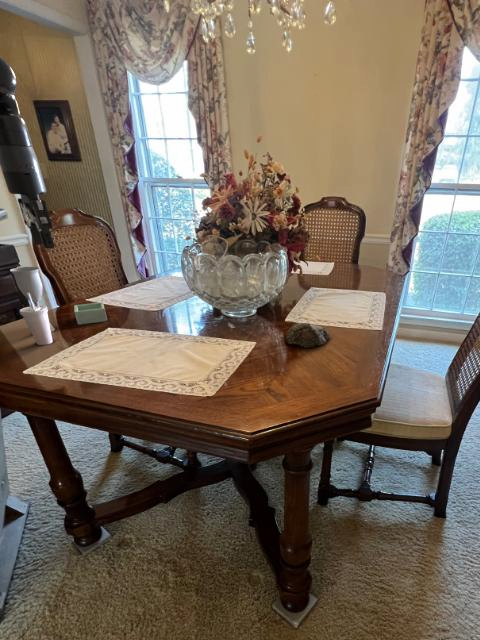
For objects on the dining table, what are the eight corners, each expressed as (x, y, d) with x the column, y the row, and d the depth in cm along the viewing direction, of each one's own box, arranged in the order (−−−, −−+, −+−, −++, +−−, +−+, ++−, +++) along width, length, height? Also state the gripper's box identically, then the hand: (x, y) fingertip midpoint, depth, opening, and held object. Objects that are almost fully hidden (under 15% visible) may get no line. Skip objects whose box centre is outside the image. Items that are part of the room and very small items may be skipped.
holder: (78, 324, 120) (74, 312, 118) (77, 317, 127) (74, 305, 125) (107, 321, 124) (104, 308, 122) (105, 314, 130) (102, 302, 128)
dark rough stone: (293, 331, 117) (293, 315, 114) (332, 335, 113) (332, 319, 111) (278, 345, 106) (278, 328, 104) (321, 350, 103) (321, 333, 100)
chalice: (63, 329, 116) (43, 268, 107) (39, 336, 111) (17, 272, 102) (50, 325, 119) (31, 265, 111) (27, 331, 114) (5, 269, 106)
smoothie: (34, 348, 102) (15, 296, 96) (29, 342, 107) (10, 292, 100) (60, 343, 106) (44, 292, 99) (54, 337, 110) (38, 288, 103)
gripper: (-5, 170, 88) (19, 244, 96) (9, 169, 80) (35, 251, 88) (32, 171, 93) (52, 242, 101) (49, 170, 84) (70, 248, 92)
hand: (44, 246), depth 94 cm, fingers open, 8 cm apart
